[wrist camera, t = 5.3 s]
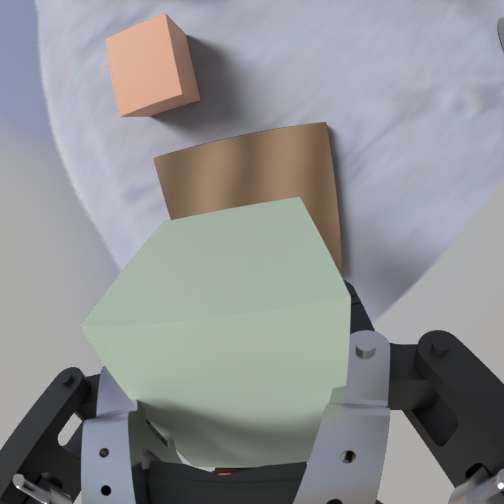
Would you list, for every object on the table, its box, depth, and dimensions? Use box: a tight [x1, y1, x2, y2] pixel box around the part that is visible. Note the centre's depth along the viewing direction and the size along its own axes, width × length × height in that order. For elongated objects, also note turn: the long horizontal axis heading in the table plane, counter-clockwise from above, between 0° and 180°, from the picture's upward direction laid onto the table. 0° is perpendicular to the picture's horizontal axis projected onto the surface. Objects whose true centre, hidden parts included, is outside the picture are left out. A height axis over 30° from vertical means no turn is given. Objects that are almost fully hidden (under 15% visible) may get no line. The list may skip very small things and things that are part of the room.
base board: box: [153, 122, 343, 278], centre depth 25 cm, size 15×15×2 cm
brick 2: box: [80, 197, 351, 468], centre depth 8 cm, size 5×7×6 cm
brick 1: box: [106, 14, 201, 117], centre depth 17 cm, size 5×7×6 cm
